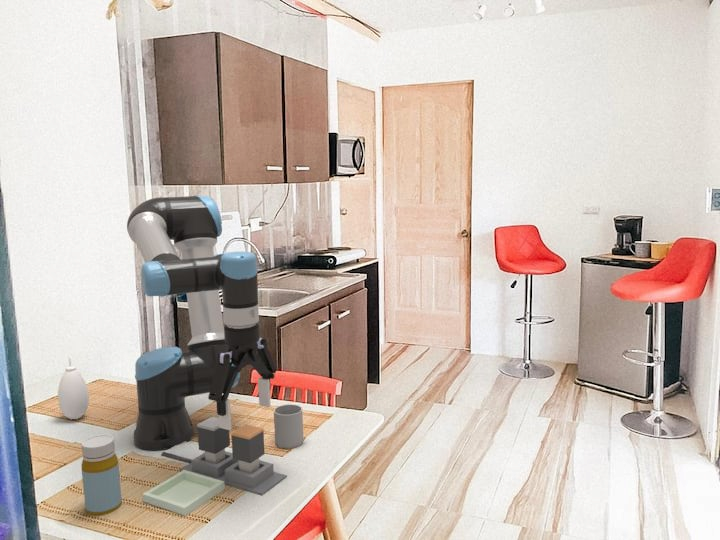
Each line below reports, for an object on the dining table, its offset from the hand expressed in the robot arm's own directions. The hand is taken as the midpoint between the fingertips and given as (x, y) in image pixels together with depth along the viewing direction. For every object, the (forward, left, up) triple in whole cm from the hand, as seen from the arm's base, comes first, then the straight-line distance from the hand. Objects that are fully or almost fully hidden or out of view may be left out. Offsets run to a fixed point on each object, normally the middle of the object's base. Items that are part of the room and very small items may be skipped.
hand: (245, 416), depth 139 cm
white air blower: (-68, +6, -15) cm, 70 cm away
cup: (-5, +21, -15) cm, 26 cm away
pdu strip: (-10, 0, -15) cm, 18 cm away
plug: (0, 0, -14) cm, 14 cm away
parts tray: (-8, -12, -15) cm, 21 cm away
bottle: (-20, -23, -15) cm, 34 cm away
